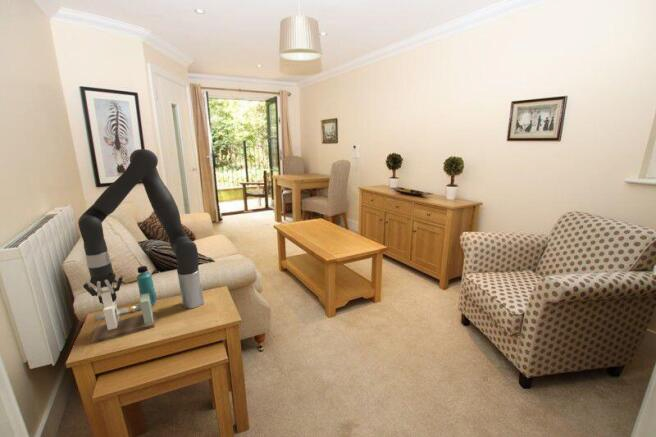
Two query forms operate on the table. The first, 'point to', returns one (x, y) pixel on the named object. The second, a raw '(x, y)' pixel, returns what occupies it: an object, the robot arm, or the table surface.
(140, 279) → the beverage bottle
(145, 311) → the mount block
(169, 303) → the table surface
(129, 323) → the pipe board
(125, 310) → the steel pipe
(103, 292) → the white stepped block
